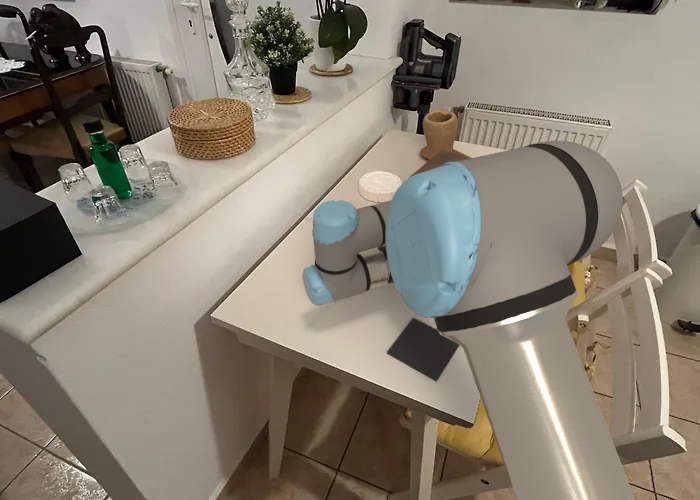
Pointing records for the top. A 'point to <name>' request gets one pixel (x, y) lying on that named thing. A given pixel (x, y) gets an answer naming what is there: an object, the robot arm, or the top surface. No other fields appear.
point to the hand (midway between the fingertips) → (477, 236)
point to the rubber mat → (423, 349)
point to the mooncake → (379, 186)
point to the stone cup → (440, 133)
